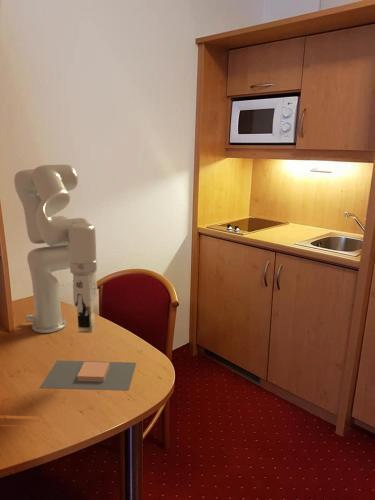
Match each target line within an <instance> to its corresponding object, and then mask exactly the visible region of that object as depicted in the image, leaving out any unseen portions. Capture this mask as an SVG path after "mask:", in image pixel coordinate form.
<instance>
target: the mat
mask: <svg viewBox="0 0 375 500" xmlns="http://www.w3.org/2000/svg"><path fill="white" fill-rule="evenodd" d="M84 362H98V361H93V360H90V361H88V360H60V359H59V360H56V362H55V363H54V365H53V366H52V368H51V369H50V370H49V372H48V374H47V375H46V376H45V378H44V380H43V381H42V383H41V385H40V386H39V389H57V390H58V389H59V390H60V389H61V390H62V389H63V390H65V389H66V390H90V391H91V390H94V391H95V390H97V391H98V390H99V391H102V390H103V391H105V390H106V391H129V390H130V388H131V387H130V386H131V383H132V380H133V376H134V373H135V372H134V371H135V370H136V367H137V362H129V361H127V362H126V361H125V362H123V361H108V362H109V363H110V367H109V370H108V372H107V375H106V378H105V380H104V382H101V381H77V375H78V373H79V371H80V369H81V367H82V366H83V364H84Z"/></svg>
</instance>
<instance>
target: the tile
mask: <svg viewBox="0 0 375 500" xmlns="http://www.w3.org/2000/svg"><path fill="white" fill-rule="evenodd" d="M109 362H110V361H97V362H84V364H83V366H82V367H81V369H80V371H79V373H78V375H77V381H101V382H104V380H105V378H106V375H107V372H108V370H109V367H110V363H109Z"/></svg>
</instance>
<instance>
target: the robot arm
mask: <svg viewBox="0 0 375 500" xmlns="http://www.w3.org/2000/svg"><path fill="white" fill-rule="evenodd" d="M13 179H14V180H13V181H14V188H15V192H16V194H17V196H18V199H19V200H20V203H21V205H22V207H23V211H24V217H25V218H24V220H25V224H26V232H27V237H28V239H29V241H30V243H32V244H36V245H38V244H39V245H41V244H46V245H47V246H42V247H36V248H34V249H31V250H30V251H29V252H28V254H27V258H26V259H27V260H26V261H27V264H28V268H29V272H30V276H31V285H32V294H33V305H34V314H26V315H25V321H26V322H27V323H32V324H31V329H32V330H33V331H34V332H36V333H41V334H49V333H55V332H58V331H60V330H63V328H65V327H66V326H67V320H66V319H65V318H64V317H62V306H61V305H62V304H61V291H60V283H59V280H58V278H57V277H56V276H55V275H53V274H52V273H55V272H56V271H62V270H63V271H64V270H68V269H69V271H70V272H69V273H70V274H72V289H73V290H72V295H73V297H72V299H73V305H74V307H75V308H76V313H77V312H78V315H77V324H78V323H79V327H83V328H89V327H90V318H89V315H88V307H91V306H92V305H93V303H94V304H95V301H96V300H97V298H98V283H97V273H96V272H97V271H98V269H97V268H98V264H97V263H98V262H97V244H96V243H97V242H96V241H97V240H96V228H95V226H94V225H93V224H92V223H90V222H89V220H87V219H86V218H84V217H77V218H67V216H64V215H63V216H61V215H58V216H54V215H56V214H58V213H59V212H61V211H62V210H64V209H65V208H67V207H68V205H69V204H70V201H71V195H70V193H69V192H70V191H72V190H74V189H75V188H76V187H77V186H78V184H79V177H78V173H77V171H76V170H75V168H74V167H73V166H71V165H69V164H42V165H38V167H35V168H32V169H23V170H20V171H18V172H17V173H15V174H14V178H13ZM77 300H78V302H77ZM83 303H85V305H83ZM83 308H85V309H83Z"/></svg>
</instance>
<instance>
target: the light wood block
mask: <svg viewBox="0 0 375 500" xmlns="http://www.w3.org/2000/svg"><path fill="white" fill-rule="evenodd" d="M77 302H78V300H77ZM83 305H85V303H83ZM83 309H85V308H83ZM76 313H77V316H78V312H77V311H76ZM88 315H89V318H90V327H89V328H83V327H79V323H78V322H77V328H78V333H79V334H81V333H82V334H92V333H93V332H94V329H95V327H96V322H95V320H96V319H95V302H94V303H93V305H92V306H91V307H88Z"/></svg>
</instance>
